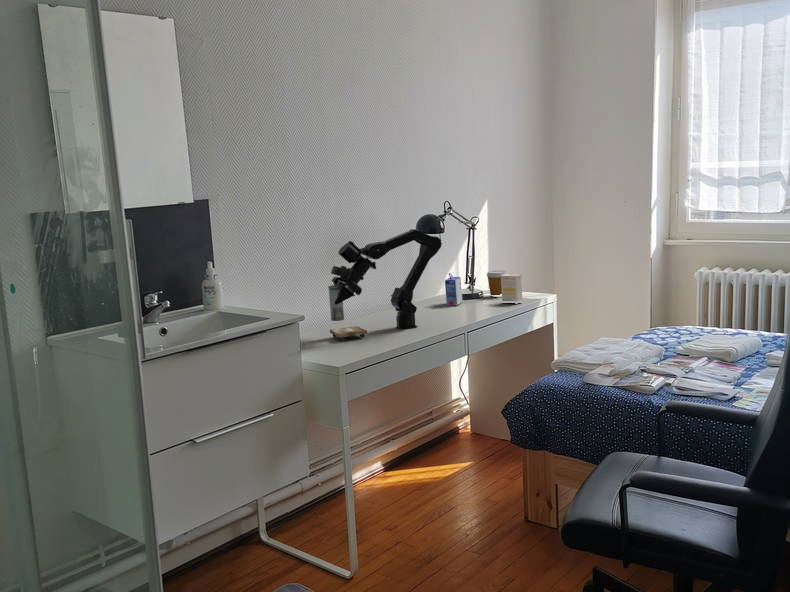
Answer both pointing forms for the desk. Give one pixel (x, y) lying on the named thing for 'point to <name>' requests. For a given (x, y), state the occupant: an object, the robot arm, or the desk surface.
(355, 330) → the frame
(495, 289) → the disposable coffee cup
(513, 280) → the supplement box
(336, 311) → the canister
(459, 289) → the ink cartridge box
